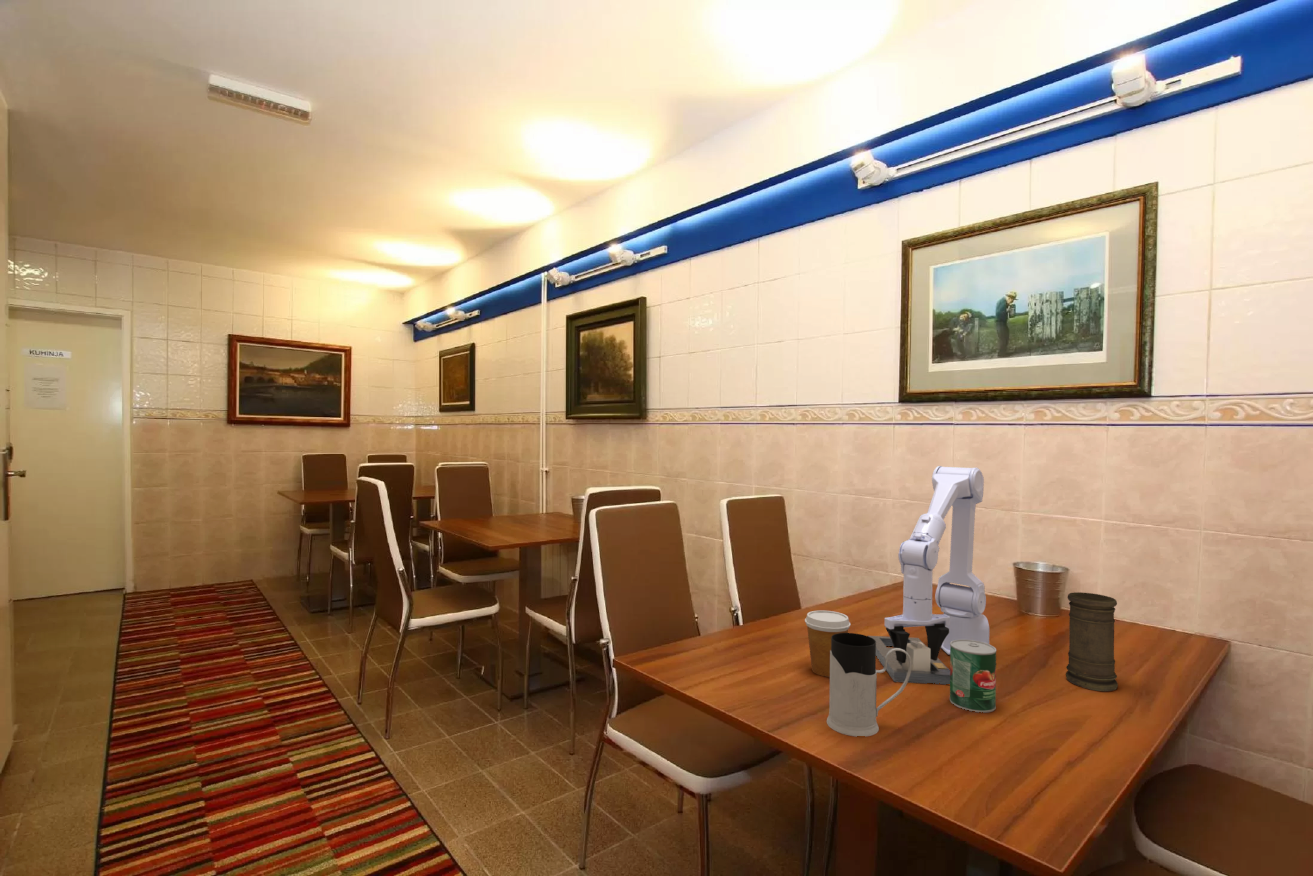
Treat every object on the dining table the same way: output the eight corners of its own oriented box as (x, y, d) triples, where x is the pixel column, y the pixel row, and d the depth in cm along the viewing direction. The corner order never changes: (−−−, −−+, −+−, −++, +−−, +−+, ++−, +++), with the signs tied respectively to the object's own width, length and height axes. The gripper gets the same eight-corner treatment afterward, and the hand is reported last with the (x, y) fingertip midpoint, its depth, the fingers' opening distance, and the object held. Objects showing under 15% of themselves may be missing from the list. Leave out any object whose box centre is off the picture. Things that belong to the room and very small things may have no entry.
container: (1102, 695, 123) (1104, 604, 123) (1056, 679, 131) (1057, 594, 131) (1127, 687, 127) (1128, 599, 127) (1080, 672, 135) (1081, 589, 135)
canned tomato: (994, 716, 113) (995, 656, 113) (946, 706, 117) (947, 648, 117) (997, 701, 120) (997, 644, 120) (952, 692, 124) (952, 636, 124)
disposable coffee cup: (852, 667, 136) (853, 613, 136) (846, 683, 127) (847, 624, 127) (808, 660, 140) (809, 607, 140) (800, 675, 131) (800, 618, 131)
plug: (918, 670, 135) (918, 638, 135) (930, 676, 132) (930, 644, 132) (902, 671, 135) (902, 640, 135) (913, 678, 131) (913, 646, 131)
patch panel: (918, 646, 151) (918, 637, 151) (954, 685, 127) (954, 674, 127) (867, 643, 152) (867, 635, 152) (894, 681, 128) (894, 671, 128)
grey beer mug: (822, 712, 114) (823, 630, 114) (902, 716, 112) (903, 634, 112) (831, 735, 105) (832, 646, 105) (918, 740, 104) (919, 650, 104)
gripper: (935, 590, 138) (934, 651, 138) (876, 593, 135) (876, 655, 135) (956, 598, 131) (956, 662, 131) (895, 602, 128) (895, 667, 128)
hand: (916, 660), depth 133 cm, fingers open, 7 cm apart
